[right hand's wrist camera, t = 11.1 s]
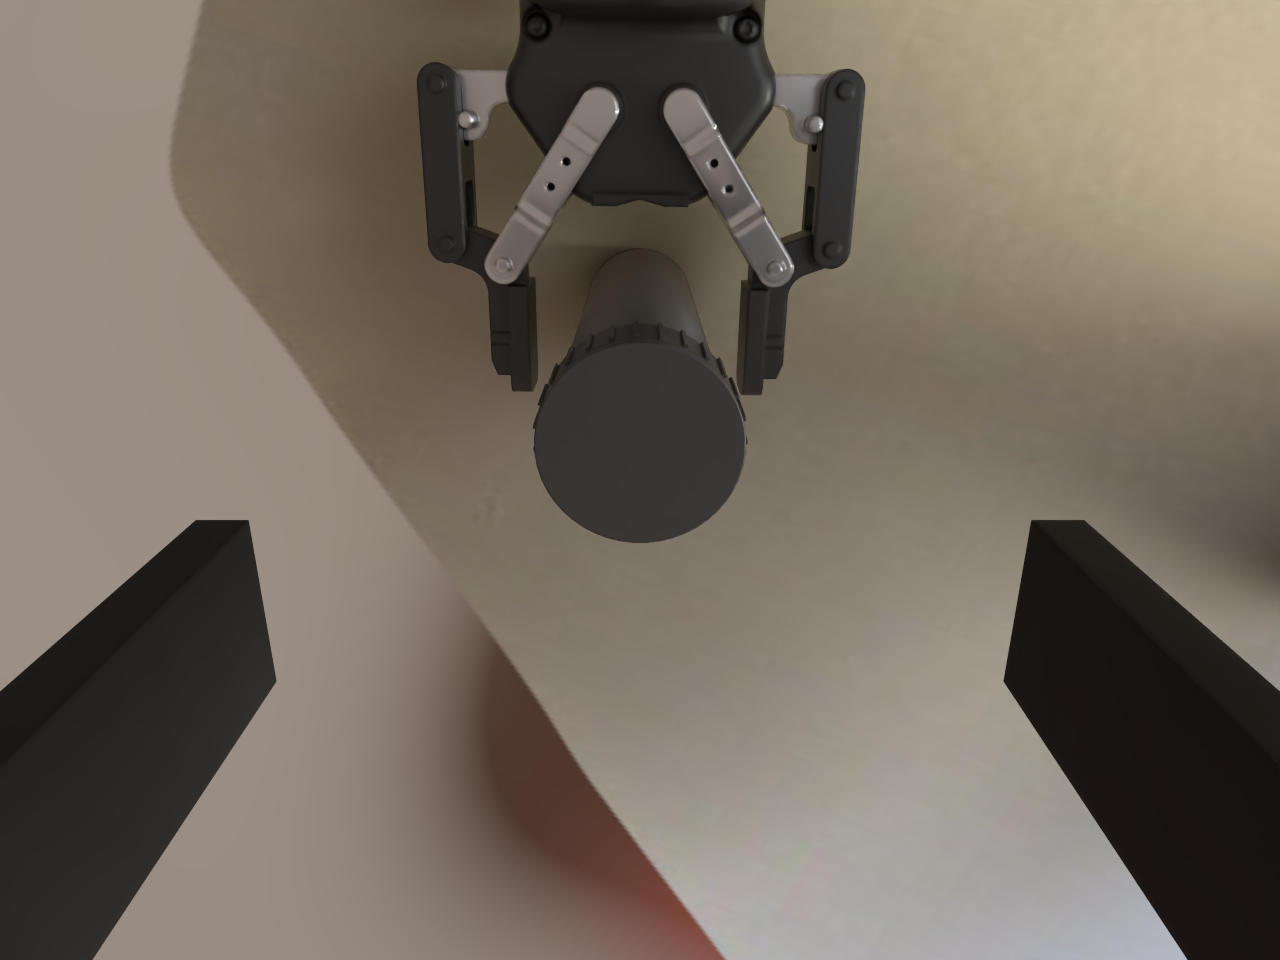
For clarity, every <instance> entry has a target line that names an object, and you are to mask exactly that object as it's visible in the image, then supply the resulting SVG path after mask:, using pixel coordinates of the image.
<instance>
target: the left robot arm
mask: <svg viewBox="0 0 1280 960" xmlns="http://www.w3.org/2000/svg"><path fill="white" fill-rule="evenodd" d="M519 3H520V38H519V43H518V47H517V50H516V53H515V56H514V58H513V60H512V62H511V64H510V66H509V68H508V70H459V69H456V68H453V67H450V66H448V65H445V64H442V63H438V62H432V63H429V64H427V65H425V66H424V67H423V68H422V69H421V70H420V72H419V74H418V77H417V91H418V105H419V120H420V134H421V148H422V162H423V176H424V191H425V205H426V219H427V233H428V246H429V249H430V252H431V254H432V255H433V256H434V257H435V258H436V259H437V260H439V261H441V262H444V263H455V264H457V265H460V266H463V267H465V268H468V269H471V270H473V271H475V272H477V273H478V274H479V275H480V276H481V277H482V278H483V279H484V281H485V282H486V284H487V287H488V293H489V314H490V331H491V355H492V362H493V364H494V367H495V369H496V371H497V373H498V375H511V385H512V390H513V391H525V392H533V390H534V388H535V385H536V383H537V378H538V354H537V320H536V287H535V277H529V269H528V264H529V262H530V261H531V259H532V257H533V256H534V254H535V253H536V251H537V249H538V248H539V246H540V245H541V243H542V241H543V240H544V238H545V237H546V235H547V234H548V232H549V230H550V229H551V227H552V226H553V224H554V223H555V221H556V220H557V218H558V217H559V215H560V214H561V212H562V210H563V209H564V207H565V206H566V204H567V202H568V201H569V199H570V198H571V196H572V195H573V194H574V195H576V196H577V197H579V198H580V199H582V200H584V201H586V202H590V203H592V206H617V205H621V204H625V203H628V202H632V201H636V200H644V201H647V202H651V203H654V204H657V205H661V206H664V207H688V204H691V203H694V202H697V201H699V200H701V199H702V198H704V197H705V196H708V198H709V200H710V201H711V203H712V205H713V206H714V208H715V210H716V211H717V213H718V215H719V216H720V218H721V220H722V221H723V223H724V224H725V226H726V227H727V229H728V231H729V232H730V234H731V236H732V237H733V239H734V241H735V242H736V244H737V246H738V247H739V249H740V251H741V253H742V254H743V256H744V258H745V259H746V261H747V263H748V264H749V268H748V280H741V297H740V316H739V335H738V354H737V386H738V388H739V391H740V394H741V395H761V394H762V389H763V379H776V378H777V376H778V374H779V372H780V370H781V368H782V365H783V354H784V340H785V326H786V312H787V299H788V293H789V290H790V288H791V286H792V284H793V283H794V282H795V281H796V280H797V279H798V278H800V277H802V276H804V275H806V274H809V273H812V272H815V271H818V270H821V269H824V268H827V269H834V268H837V267H839V266H841V265H842V264H844V263H845V261H846V260H847V258H848V257H849V254H850V247H851V236H852V226H853V215H854V204H855V194H856V183H857V172H858V162H859V151H860V140H861V130H862V119H863V108H864V98H865V83H864V80H863V78H862V77H861V75H860V74H859V73H858V72H856V71H854V70H851V69H840V70H836V71H833V72H830V73H828V74H775V72H774V70H773V68H772V66H771V63H770V61H769V59H768V56H767V52H766V49H765V43H764V14H765V0H519ZM505 103H509V104H510V106H511V108H512V110H513V111H514V113H515V114H516V115H517V117H518V118H519V120H520V121H521V123H522V124H523V125H524V127H525V128H526V130H527V131H528V133H529V134H530V135H531V137H532V138H533V140H534V141H535V143H536V144H537V145H538V147H539V148H540V150H541V151H542V153H543V154H544V155H545V159H544V161H543V162H542V164H541V165H540V167H539V169H538V170H537V172H536V174H535V175H534V177H533V179H532V180H531V182H530V183H529V185H528V187H527V188H526V190H525V192H524V193H523V195H522V197H521V198H520V200H519V202H518V203H517V205H516V207H515V210H514V212H513V213H512V215H511V217H510V218H509V220H508V222H507V223H506V225H505V226H504V228H503V230H502V231H501V233H500V235H499V234H496V233H494V232H491V231H488V230H486V229H483V228H481V227H478V226H477V210H476V190H475V170H474V151H473V140H479V139H482V138H484V137H485V136H487V135H488V134H489V132H490V130H491V128H492V122H493V116H494V114H495V112H496V110H497V109H498V108H499V107H500V106H501V105H503V104H505ZM773 106H775V107H778V108H780V109H781V110H782V111H783V112H784V113H785V114H786V116H787V118H788V121H789V130H790V133H791V136H792V137H793V138H794V139H795V140H796V141H797V142H799V143H801V144H808V152H807V165H806V179H805V193H804V206H803V220H802V231H800V232H797V233H794V234H791V235H788V236H786V237H783V238H779V236H778V235H777V233H776V231H775V229H774V228H773V226H772V224H771V223H770V221H769V219H768V217H767V215H766V214H765V211H764V209H763V207H762V205H761V203H760V201H759V200H758V198H757V196H756V194H755V193H754V191H753V189H752V187H751V186H750V184H749V182H748V181H747V179H746V177H745V175H744V174H743V172H742V170H741V168H740V167H739V165H738V163H737V161H736V160H735V159H736V158H737V156H738V155H739V154H740V152H741V151H742V150H743V148H744V147H745V146H746V144H747V143H748V141H749V140H750V139H751V137H752V136H753V135H754V133H755V132H756V131H757V129H758V128H759V127H760V125H761V124H762V122H763V121H764V120H765V118H766V117H767V116H768V114H769V113H770V111H771V110H772V108H773Z"/></svg>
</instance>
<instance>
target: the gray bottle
mask: <svg viewBox="0 0 1280 960" xmlns="http://www.w3.org/2000/svg"><path fill="white" fill-rule="evenodd" d="M634 321H639V324H654V325H658V322H660V323H663V326H664V327H668V328H672V329H674V330H677V331H679V332H680V331H681V329H682V330H685V331H686V335H688V336H689V337H691V338H693V339H695V340H696V341H697V342H699V343H701V342H702V341H703V342H704V343H705V344H706V347H707V350H708V351H709V352H710V350H709V347H708V344H707V341H706V337H705V334H704V331H703V328H702V325H701V322H700V319H699V315H698V312H697V309H696V306H695V303H694V300H693V297H692V293H691V290H690V287H689V284H688V282H687V279H686V277H685V275H684V273H683V272H682V270H681V269H680V268H679V266H678V265H677V264H676V263H675V262H674V261H672V260H671V259H670V258H669V257H667V256H665V255H663V254H661V253H659V252H656V251H653V250H648V249H632V250H627V251H624V252H621V253H619V254H617V255H615V256H613V257H612V258H610V259H609V260H608V261H607V262H605V264H604V265H603V266H602V267H601V268H600V269H599V271H598V272H597V274H596V276H595V277H594V280H593V282H592V285H591V288H590V291H589V294H588V297H587V300H586V304H585V307H584V310H583V313H582V316H581V319H580V322H579V326H578V329H577V332H576V335H575V338H574V341H573V345H572V346H573V347H574V348H575V347H576V346H578V345H579V344H580V343H581V342H583V341H584V340H586V339H587V337H588V334H590V333H593V335H594V334H596V333H599V332H601V331H603V330H606V329H609V328H610V325H612V324H615V327H616V326H620V325H627V324H634Z"/></svg>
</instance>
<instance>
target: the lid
mask: <svg viewBox="0 0 1280 960" xmlns="http://www.w3.org/2000/svg"><path fill="white" fill-rule="evenodd" d="M548 383H549V385H548V384H545V387H544V389H543V392H542V395H541V397H540V400H539V403H538V405H539V406H540V407H539V410H538V413H537V416H536V418H535V421H534V424H533V429H535V435H534V448H533V449H534V452H535V458H536V463H537V468H538V471H539V474H540V477H541V479H542V481H543V483H544V486H545V488H546V490H547V491H548V493H549V494H550V496H551V497H552V499H553V500H554V502H555V503H556V504H557V505H558V506H559V507H560V509H561V510H562V511H563V512H564V513H565V514H567V515H568V516H569V517H570V518H571V519H572V520H573V521H575V522H576V523H578V524H579V525H581V526H582V527H584V528H586V529H588V530H590V531H591V532H593V533H595V534H598V535H601V536H603V537H606V538H609V539H613V540H618V541H623V542H632V543H649V542H657V541H663V540H667V539H671V538H674V537H677V536H680V535H682V534H685V533H687V532H689V531H691V530H693V529H695V528H696V527H698V526H699V525H701V524H702V523H704V522H705V521H707V520H708V519H709V518H710V517H711V516H713V515H714V514H715V513H716V512H717V511H718V510H719V509H720V508H721V507H722V505H723V504H724V503H725V502H726V501H727V499H728V498H729V496H730V495H731V493H732V492H733V490H734V488H735V486H736V484H737V482H738V480H739V477H740V474H741V471H742V468H743V465H744V459H745V454H746V445H747V438H746V433H745V425H744V421H746V416H745V413H744V411H743V408H742V405H741V403H740V400H739V399H738V398H740V397H739V394H738V392H737V389H736V386H735V384H734V381H733V379H732V377H730V378H728V376H727V374H726V371H725V368H724V365H723V363H722V360H721V359H720V358H718V359H716V358H715V357H714V356H713V355H712V354H711V353H710V352H709V351H708V350H707V347H706V344H705V343H704V342H703V341H702V342H701V343H699V342H697V341H696V340H695V339H693V338H691V337H689V336H688V335H686V331H685V330H682V329H681V331H680V332H679V331H677V330H674V329H672V328H668V327H664V326H663V323H660V322H658V325H654V324H639V321H634V324H627V325H620V326H616V327H615V324H612V325H610V328H609V329H606V330H603V331H601V332H599V333H596V334H594V335H593V333H590V334H588V337H587V339H586V340H584V341H583V342H581V343H580V344H579V345H578V346H576V347H575V348H574V347H573V346H571V347H570V348H569V351H568V354H567V356H566V357H565V358H564V359H563V361H562V362H561V363H560V365H558V364H557V363H556V365H555V366H554V369H553V371H552V374H551V377H550V380H549V382H548Z"/></svg>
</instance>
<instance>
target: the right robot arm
mask: <svg viewBox="0 0 1280 960" xmlns="http://www.w3.org/2000/svg"><path fill="white" fill-rule="evenodd" d="M275 683H276V676H275V670H274V664H273V658H272V653H271V647H270V641H269V635H268V630H267V624H266V618H265V612H264V607H263V601H262V595H261V589H260V583H259V578H258V572H257V566H256V560H255V555H254V549H253V543H252V537H251V532H250V526H249V521H248V520H196V521H194V522H193V523H192V524H191V525H190V526H189V527H188V528H186V529H185V530H184V531H183V532H182V533H181V534H180V535H178V536H177V537H176V538H175V539H174V540H173V541H172V542H171V543H169V544H168V545H167V546H166V547H165V548H164V549H162V550H161V551H160V552H159V553H158V554H157V555H156V556H154V557H153V558H152V559H151V560H150V561H149V562H148V563H146V564H145V565H144V566H143V567H142V568H141V569H140V570H138V571H137V572H136V573H135V574H134V575H133V576H132V577H130V578H129V579H128V580H127V581H126V582H125V583H124V584H122V585H121V586H120V587H119V588H118V589H117V590H116V591H114V592H113V593H112V594H111V595H110V596H109V597H108V598H107V599H105V600H104V601H103V602H102V603H101V604H100V605H98V606H97V607H96V608H95V609H94V610H93V611H92V612H90V613H89V614H88V615H87V616H86V617H85V618H84V619H82V620H81V621H80V622H79V623H78V624H77V625H76V626H74V627H73V628H72V629H71V630H70V631H69V632H68V633H66V634H65V635H64V636H63V637H62V638H61V639H60V640H59V641H57V642H56V643H55V644H54V645H53V646H52V647H51V648H49V649H48V650H47V651H46V652H45V653H44V654H43V655H41V656H40V657H39V658H38V659H37V660H36V661H34V662H33V663H32V664H31V665H30V666H29V667H28V668H27V669H25V670H24V671H23V672H22V673H21V674H20V675H18V676H17V677H16V678H15V679H14V680H13V681H12V682H10V683H9V684H8V685H7V686H6V687H5V688H4V689H2V690H1V691H0V960H93V958H94V957H95V955H96V954H97V952H98V950H99V949H100V947H101V946H102V944H103V943H104V941H105V940H106V938H107V937H108V935H109V934H110V932H111V931H112V929H113V928H114V926H115V925H116V923H117V922H118V920H119V919H120V917H121V916H122V914H123V913H124V911H125V910H126V908H127V907H128V905H129V904H130V902H131V901H132V899H133V898H134V896H135V894H136V893H137V891H138V890H139V888H140V887H141V885H142V884H143V882H144V881H145V879H146V878H147V876H148V875H149V873H150V872H151V870H152V869H153V867H154V866H155V864H156V863H157V861H158V860H159V858H160V857H161V855H162V854H163V852H164V851H165V849H166V848H167V846H168V845H169V843H170V842H171V840H172V839H173V837H174V836H175V834H176V833H177V831H178V829H179V828H180V826H181V825H182V823H183V822H184V820H185V819H186V817H187V816H188V814H189V813H190V811H191V810H192V808H193V807H194V805H195V804H196V802H197V801H198V799H199V798H200V796H201V795H202V793H203V792H204V790H205V789H206V787H207V786H208V784H209V783H210V781H211V780H212V778H213V777H214V775H215V774H216V772H217V771H218V769H219V767H220V766H221V764H222V763H223V761H224V760H225V758H226V757H227V755H228V754H229V752H230V751H231V749H232V748H233V746H234V745H235V743H236V742H237V740H238V739H239V737H240V736H241V734H242V733H243V731H244V730H245V728H246V727H247V725H248V724H249V722H250V721H251V719H252V718H253V716H254V715H255V713H256V711H257V710H258V708H259V707H260V705H261V704H262V702H263V701H264V699H265V698H266V696H267V695H268V693H269V692H270V690H271V689H272V687H273V686H274V684H275ZM1004 683H1005V684H1006V686H1007V687H1008V689H1009V690H1010V692H1011V693H1012V695H1013V696H1014V698H1015V699H1016V701H1017V702H1018V704H1019V705H1020V707H1021V709H1022V710H1023V712H1024V713H1025V715H1026V716H1027V718H1028V719H1029V721H1030V722H1031V724H1032V725H1033V727H1034V728H1035V730H1036V731H1037V733H1038V734H1039V736H1040V737H1041V739H1042V740H1043V742H1044V743H1045V745H1046V746H1047V748H1048V749H1049V751H1050V752H1051V754H1052V755H1053V757H1054V758H1055V760H1056V761H1057V763H1058V764H1059V766H1060V767H1061V769H1062V771H1063V772H1064V774H1065V775H1066V777H1067V778H1068V780H1069V781H1070V783H1071V784H1072V786H1073V787H1074V789H1075V790H1076V792H1077V793H1078V795H1079V796H1080V798H1081V799H1082V801H1083V802H1084V804H1085V805H1086V807H1087V808H1088V810H1089V811H1090V813H1091V814H1092V816H1093V817H1094V819H1095V820H1096V822H1097V823H1098V825H1099V826H1100V828H1101V829H1102V831H1103V833H1104V834H1105V836H1106V837H1107V839H1108V840H1109V842H1110V843H1111V845H1112V846H1113V848H1114V849H1115V851H1116V852H1117V854H1118V855H1119V857H1120V858H1121V860H1122V861H1123V863H1124V864H1125V866H1126V867H1127V869H1128V870H1129V872H1130V873H1131V875H1132V876H1133V878H1134V879H1135V881H1136V882H1137V884H1138V885H1139V887H1140V888H1141V890H1142V891H1143V893H1144V895H1145V896H1146V898H1147V899H1148V901H1149V902H1150V904H1151V905H1152V907H1153V908H1154V910H1155V911H1156V913H1157V914H1158V916H1159V917H1160V919H1161V920H1162V922H1163V923H1164V925H1165V926H1166V928H1167V929H1168V931H1169V932H1170V934H1171V935H1172V937H1173V938H1174V940H1175V941H1176V943H1177V944H1178V946H1179V947H1180V949H1181V950H1182V952H1183V953H1184V955H1185V957H1186V958H1187V960H1280V691H1279V690H1278V689H1276V688H1275V687H1274V686H1273V685H1272V684H1271V683H1270V682H1268V681H1267V680H1266V679H1265V678H1264V677H1263V676H1262V675H1260V674H1259V673H1258V672H1257V671H1256V670H1255V669H1254V668H1252V667H1251V666H1250V665H1249V664H1248V663H1247V662H1246V661H1244V660H1243V659H1242V658H1241V657H1240V656H1239V655H1238V654H1236V653H1235V652H1234V651H1233V650H1232V649H1231V648H1230V647H1228V646H1227V645H1226V644H1225V643H1224V642H1223V641H1222V640H1220V639H1219V638H1218V637H1217V636H1216V635H1215V634H1214V633H1212V632H1211V631H1210V630H1209V629H1208V628H1207V627H1206V626H1204V625H1203V624H1202V623H1201V622H1200V621H1199V620H1198V619H1196V618H1195V617H1194V616H1193V615H1192V614H1191V613H1190V612H1188V611H1187V610H1186V609H1185V608H1184V607H1183V606H1182V605H1180V604H1179V603H1178V602H1177V601H1176V600H1175V599H1174V598H1172V597H1171V596H1170V595H1169V594H1168V593H1167V592H1166V591H1164V590H1163V589H1162V588H1161V587H1160V586H1159V585H1158V584H1156V583H1155V582H1154V581H1153V580H1152V579H1151V578H1150V577H1148V576H1147V575H1146V574H1145V573H1144V572H1143V571H1142V570H1140V569H1139V568H1138V567H1137V566H1136V565H1135V564H1134V563H1132V562H1131V561H1130V560H1129V559H1128V558H1127V557H1126V556H1124V555H1123V554H1122V553H1121V552H1120V551H1119V550H1118V549H1116V548H1115V547H1114V546H1113V545H1112V544H1111V543H1110V542H1108V541H1107V540H1106V539H1105V538H1104V537H1103V536H1102V535H1100V534H1099V533H1098V532H1097V531H1096V530H1095V529H1094V528H1092V527H1091V526H1090V525H1089V524H1088V523H1087V522H1086V521H1084V520H1031V526H1030V531H1029V537H1028V543H1027V549H1026V555H1025V560H1024V566H1023V572H1022V578H1021V583H1020V589H1019V595H1018V601H1017V606H1016V612H1015V618H1014V624H1013V630H1012V635H1011V641H1010V647H1009V653H1008V658H1007V664H1006V670H1005V676H1004Z"/></svg>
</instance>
